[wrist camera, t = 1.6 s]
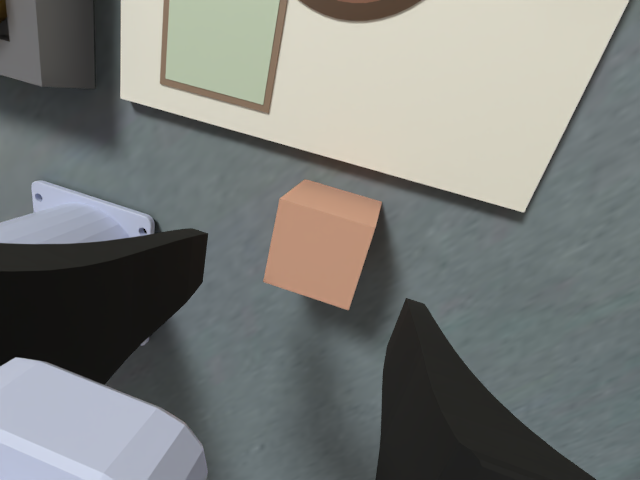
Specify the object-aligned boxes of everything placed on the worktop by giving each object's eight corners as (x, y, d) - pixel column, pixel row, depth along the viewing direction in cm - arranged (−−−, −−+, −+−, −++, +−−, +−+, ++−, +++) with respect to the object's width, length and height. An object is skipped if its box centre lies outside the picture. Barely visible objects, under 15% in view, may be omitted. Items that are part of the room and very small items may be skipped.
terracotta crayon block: (359, 270, 19) (348, 310, 16) (289, 248, 20) (263, 281, 16) (381, 201, 18) (375, 227, 14) (305, 179, 18) (279, 198, 14)
